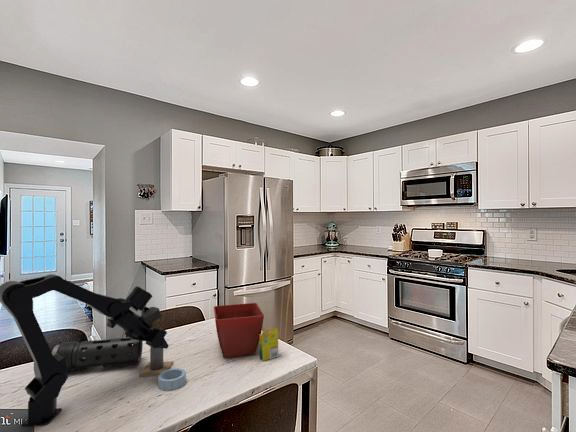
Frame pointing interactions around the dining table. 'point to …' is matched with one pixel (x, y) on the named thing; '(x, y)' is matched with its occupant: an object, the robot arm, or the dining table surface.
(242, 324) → the plant pot
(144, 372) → the mat
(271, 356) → the crayon box
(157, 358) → the plug
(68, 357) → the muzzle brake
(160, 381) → the collar
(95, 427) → the dining table surface
